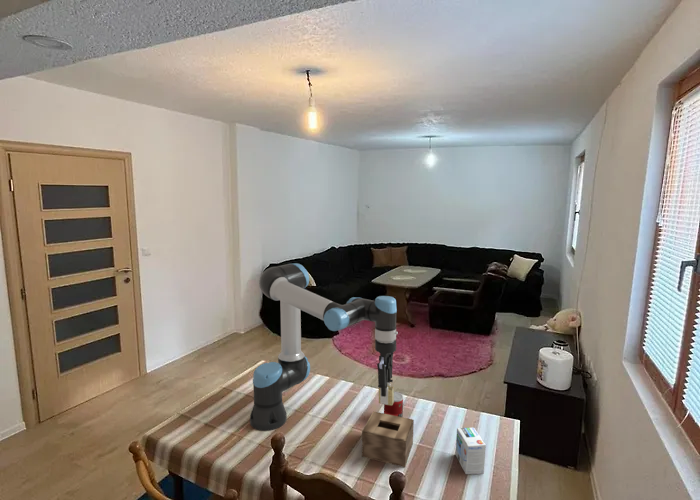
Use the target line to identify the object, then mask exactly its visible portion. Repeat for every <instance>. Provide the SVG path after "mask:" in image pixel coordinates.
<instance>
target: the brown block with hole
mask: <svg viewBox="0 0 700 500" xmlns="http://www.w3.org/2000/svg"><path fill="white" fill-rule="evenodd" d="M414 421H415V420H414V419H412V418H408V417H407V418H406V417H398V416H393V415H389V414H384V412H383V413H382V412H378V411H372V412H371V415H370V416H369V418H368V420H367V421H366V424H365V425H364V428H363V429H362V430H361V457H362V458H366V459H369V460H373V461H377V462H381V463H382V462H383V463H386V464H389V465H394V466H398V467H402V468H406V466H407V463H408V459H409V457H410V453H411V452H412V449H413V448H412V447H413V444H414Z"/></svg>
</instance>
